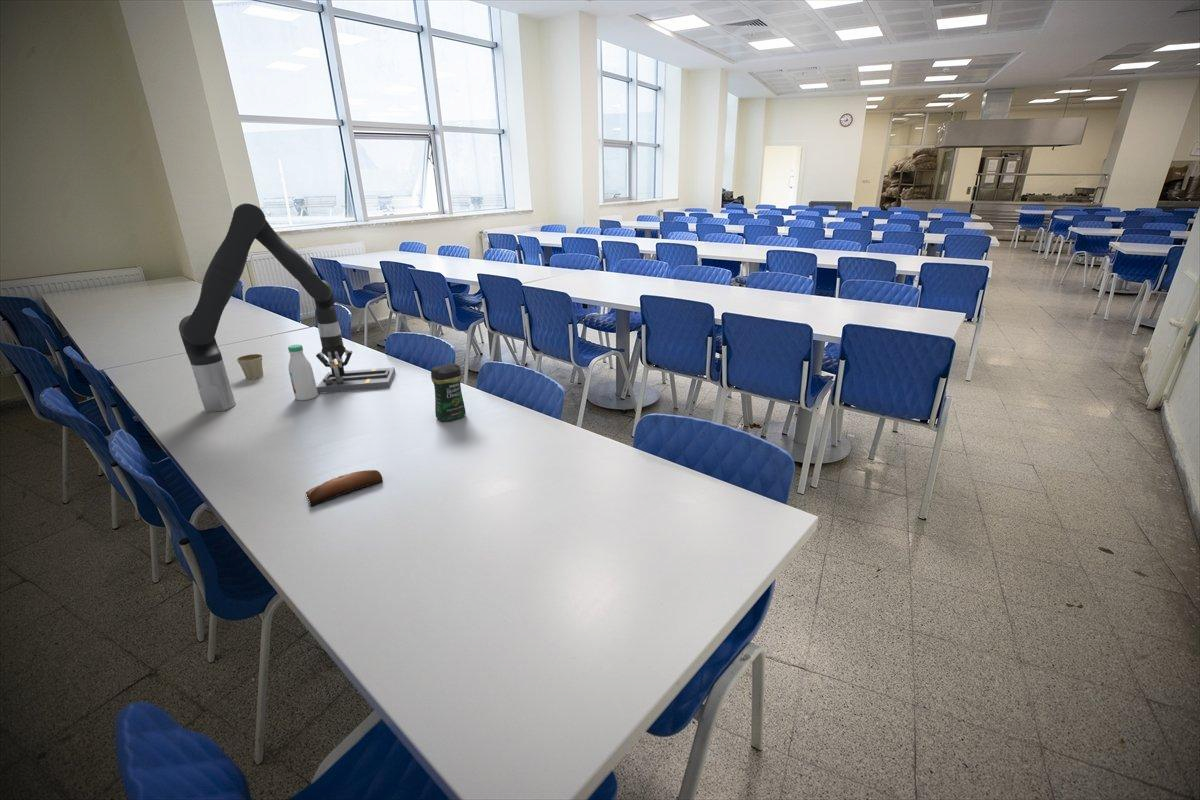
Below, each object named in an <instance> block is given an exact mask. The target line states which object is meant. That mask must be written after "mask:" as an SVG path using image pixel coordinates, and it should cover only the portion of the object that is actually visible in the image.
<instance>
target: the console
mask: <svg viewBox="0 0 1200 800" xmlns="http://www.w3.org/2000/svg"><path fill="white" fill-rule="evenodd" d="M344 372H345V373H344V375H343V376H342V378H335V377H334V375H332V371H329V372H327V373H326V375H324V377H323V378H322V380H321V381H320V382H319V384H317V385H316V387H317V391H318V394H330V392H331V393H341V392H352V391H365V390H366V391H367V390H377V389H389V388H390V387H391V385H392V382H393V379H394V378H395V375H396V367H382V368H369V369H355V370H354V369H353V370H344Z"/></svg>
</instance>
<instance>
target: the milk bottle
mask: <svg viewBox="0 0 1200 800" xmlns="http://www.w3.org/2000/svg"><path fill="white" fill-rule="evenodd" d="M287 349H288V353H289V355H290V358H289V363H288V374H289V379H290V382H291V387H292V391H293V395H294V398H295V400H297V401H310V400H312V399H315V398H317V397H318V395H319V393H318V391H317V383H316V379H315V375H314V371H313V367H312V365H311V363H310V361H309V360H308V358H307V357H306V356H305V354H304V347H303V345H302V344H292V345H289V346H287Z"/></svg>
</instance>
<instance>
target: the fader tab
mask: <svg viewBox="0 0 1200 800" xmlns="http://www.w3.org/2000/svg"><path fill="white" fill-rule="evenodd" d="M334 362H335V363H334V364H333V369H334V373H335V378H342V376H340V372H339V365H338V362H337V361H334Z"/></svg>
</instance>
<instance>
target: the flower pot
mask: <svg viewBox="0 0 1200 800" xmlns="http://www.w3.org/2000/svg"><path fill="white" fill-rule="evenodd" d="M263 356H264V355H263V354H262V353H259V354H258V353H252V354H245V355H241V356H238V357H237V358H235V360H236V362H237V363H238V365H239V366H240V367H241V370H242V372H243V374H244V376H245V379H246V380H253V379H255V380H256V379H260V378H263V376H264V369H263Z"/></svg>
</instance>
